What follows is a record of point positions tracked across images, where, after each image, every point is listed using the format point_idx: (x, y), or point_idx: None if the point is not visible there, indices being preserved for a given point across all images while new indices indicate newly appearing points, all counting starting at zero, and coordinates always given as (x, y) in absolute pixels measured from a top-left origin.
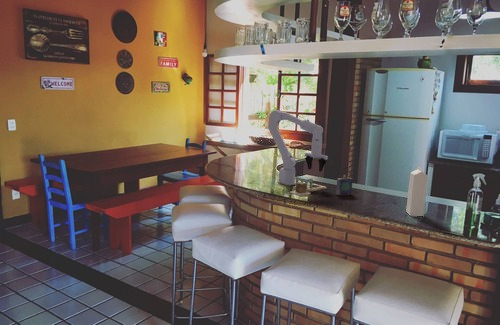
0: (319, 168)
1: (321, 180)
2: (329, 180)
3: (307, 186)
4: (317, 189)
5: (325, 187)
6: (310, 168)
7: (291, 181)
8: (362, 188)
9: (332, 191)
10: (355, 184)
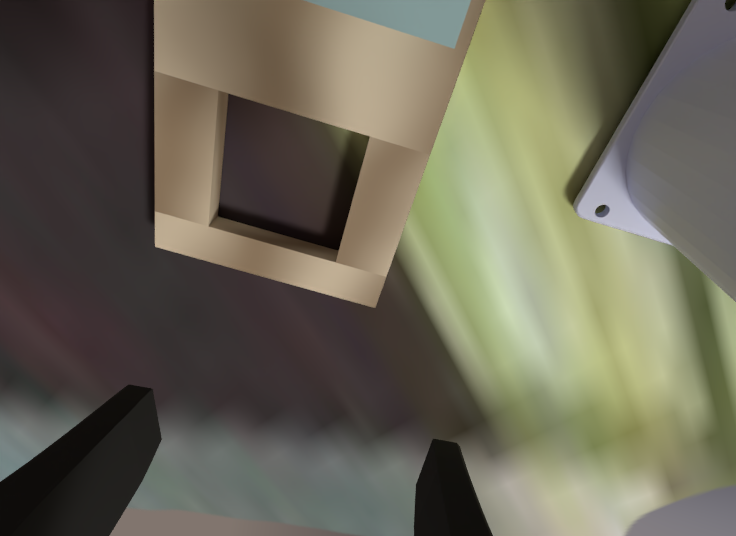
0: (89, 439)
1: (409, 492)
2: (355, 517)
3: (343, 77)
4: (161, 59)
5: (156, 226)
6: (421, 484)
7: (696, 89)
8: (13, 434)
9: (23, 153)
10: (141, 504)
